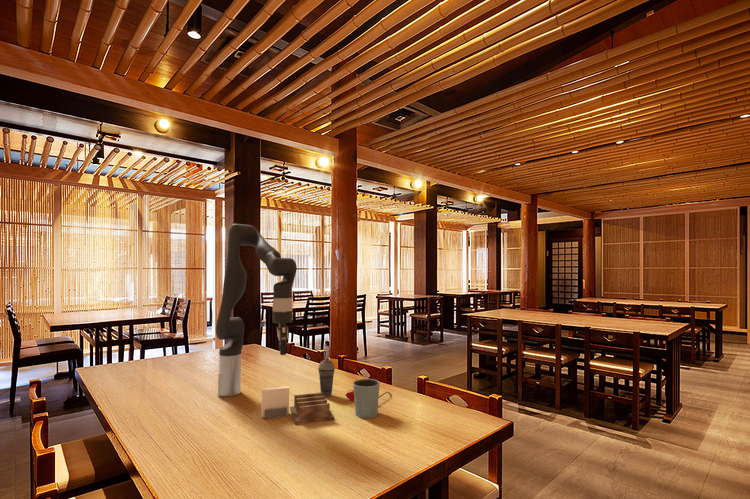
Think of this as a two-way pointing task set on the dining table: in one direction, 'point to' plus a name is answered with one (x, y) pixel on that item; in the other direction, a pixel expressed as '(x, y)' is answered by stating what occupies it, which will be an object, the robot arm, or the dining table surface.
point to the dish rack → (310, 408)
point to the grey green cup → (366, 397)
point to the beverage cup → (326, 376)
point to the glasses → (351, 396)
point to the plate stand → (275, 413)
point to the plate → (275, 399)
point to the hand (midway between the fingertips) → (282, 352)
